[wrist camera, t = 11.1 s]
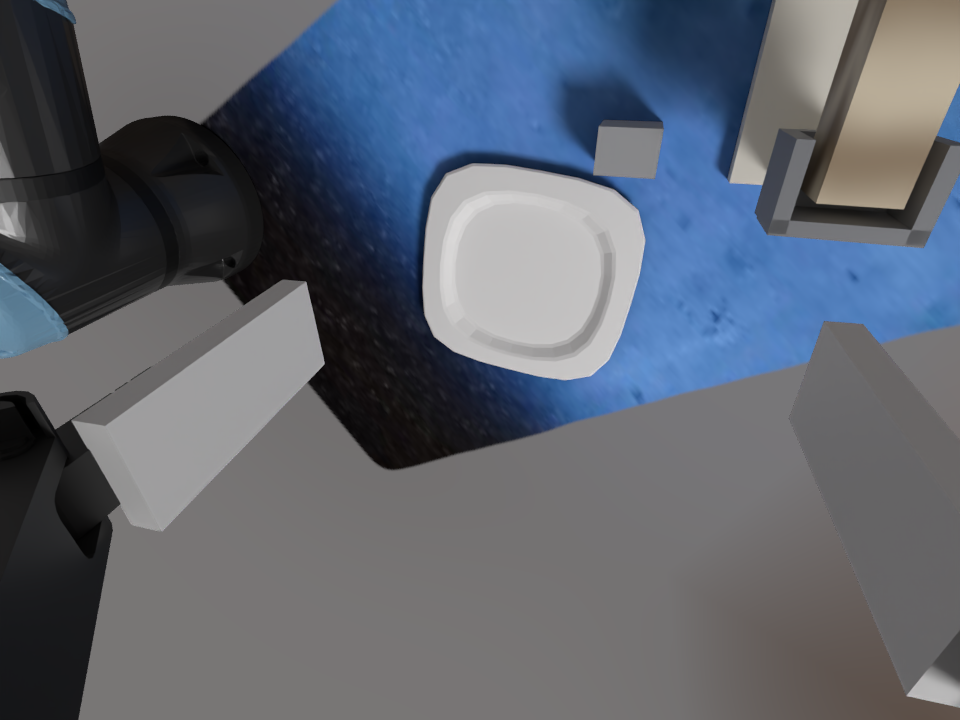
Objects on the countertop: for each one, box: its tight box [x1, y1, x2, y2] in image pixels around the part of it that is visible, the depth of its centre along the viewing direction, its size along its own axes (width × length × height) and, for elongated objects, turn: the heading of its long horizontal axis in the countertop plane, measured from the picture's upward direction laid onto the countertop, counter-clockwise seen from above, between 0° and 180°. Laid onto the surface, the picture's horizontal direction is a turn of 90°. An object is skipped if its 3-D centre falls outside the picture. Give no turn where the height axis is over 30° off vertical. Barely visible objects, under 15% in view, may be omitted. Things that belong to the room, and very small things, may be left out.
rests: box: [593, 120, 664, 179], centre depth 31 cm, size 4×14×4 cm, turn 0°
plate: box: [422, 163, 645, 380], centre depth 43 cm, size 18×18×2 cm
